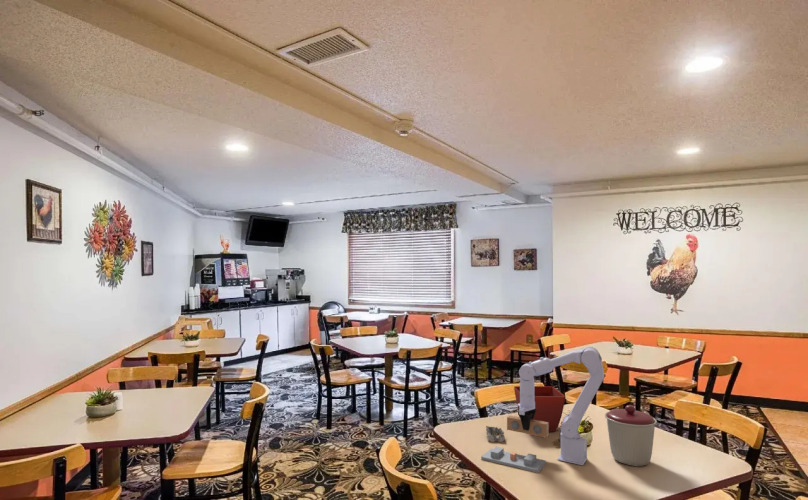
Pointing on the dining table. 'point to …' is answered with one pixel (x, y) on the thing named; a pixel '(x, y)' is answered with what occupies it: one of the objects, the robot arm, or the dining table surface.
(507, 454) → the display stand
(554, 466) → the dining table surface
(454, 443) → the dining table surface
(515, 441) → the dining table surface
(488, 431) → the stone castle ruin
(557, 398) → the plant pot
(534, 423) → the brown bar
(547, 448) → the dining table surface
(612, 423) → the canister
